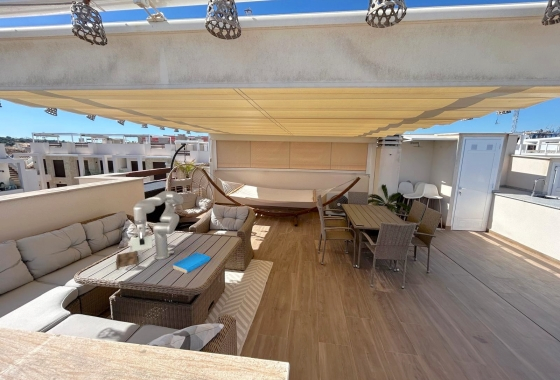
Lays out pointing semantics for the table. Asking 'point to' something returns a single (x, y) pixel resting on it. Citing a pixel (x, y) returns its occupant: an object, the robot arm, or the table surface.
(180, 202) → the robot arm
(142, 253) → the toy gun turret
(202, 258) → the book
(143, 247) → the cover plate
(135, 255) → the box
